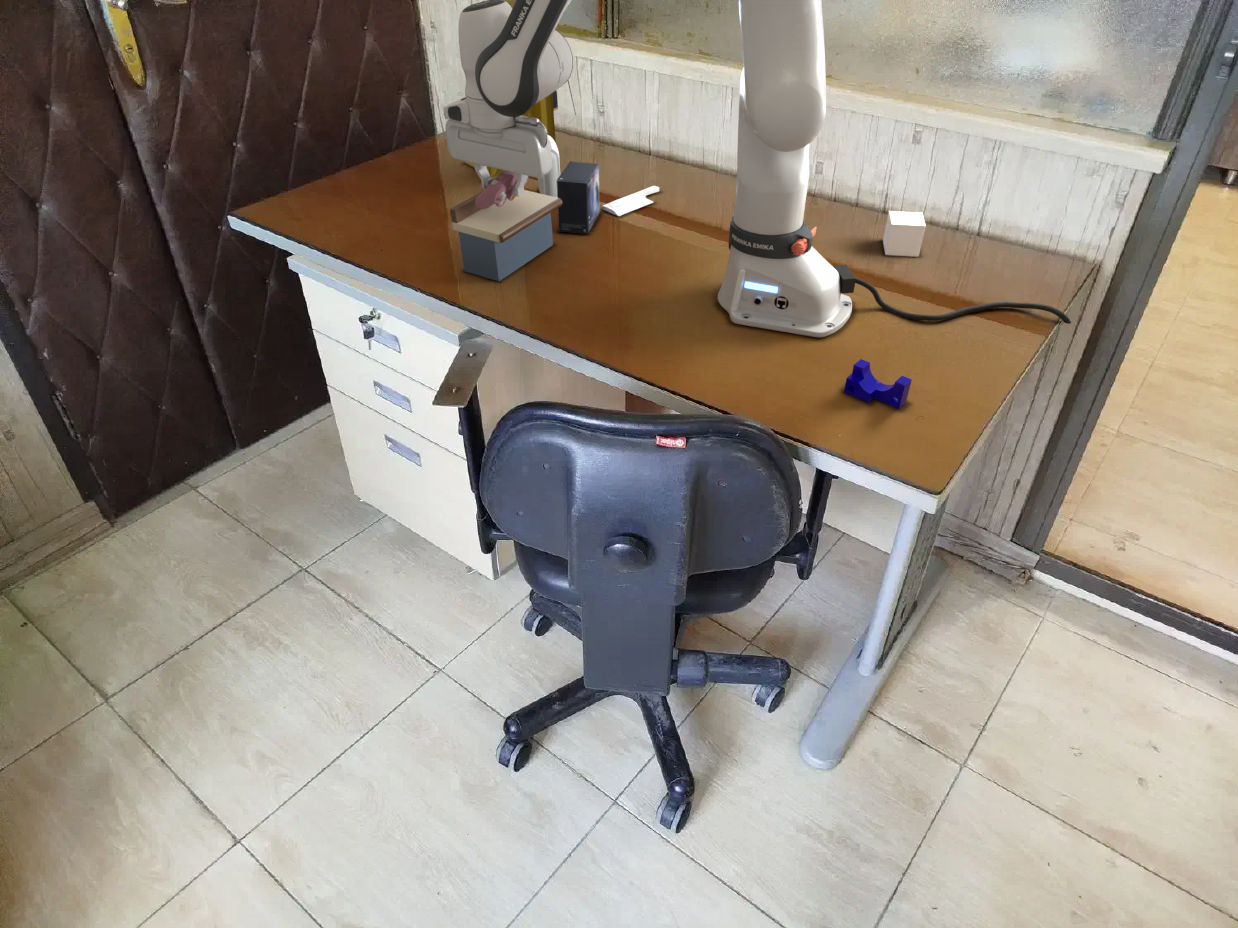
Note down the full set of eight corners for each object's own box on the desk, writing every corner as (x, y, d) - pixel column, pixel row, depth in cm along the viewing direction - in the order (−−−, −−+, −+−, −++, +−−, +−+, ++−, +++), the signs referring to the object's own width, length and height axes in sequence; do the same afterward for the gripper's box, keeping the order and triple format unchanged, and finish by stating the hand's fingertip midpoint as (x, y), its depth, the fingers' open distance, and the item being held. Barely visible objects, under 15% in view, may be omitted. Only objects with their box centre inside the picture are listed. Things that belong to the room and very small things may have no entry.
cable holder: (843, 392, 120) (848, 369, 118) (856, 381, 122) (860, 358, 120) (894, 413, 116) (899, 390, 114) (905, 402, 118) (911, 379, 116)
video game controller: (490, 222, 145) (501, 190, 140) (471, 206, 145) (480, 174, 140) (524, 202, 151) (535, 171, 146) (506, 187, 152) (516, 156, 146)
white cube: (915, 242, 157) (922, 212, 153) (918, 257, 153) (926, 226, 149) (882, 241, 158) (888, 210, 154) (885, 255, 154) (891, 224, 150)
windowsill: (565, 246, 158) (561, 186, 151) (508, 286, 147) (501, 222, 139) (518, 234, 163) (512, 174, 155) (459, 271, 151) (449, 209, 143)
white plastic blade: (670, 196, 176) (670, 191, 175) (618, 217, 168) (618, 212, 168) (653, 189, 179) (653, 184, 178) (601, 209, 171) (601, 204, 170)
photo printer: (536, 188, 180) (531, 130, 172) (556, 186, 181) (552, 128, 173) (543, 207, 173) (539, 147, 165) (564, 205, 173) (560, 145, 165)
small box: (590, 235, 162) (588, 182, 155) (557, 232, 163) (554, 180, 156) (601, 213, 170) (600, 162, 163) (571, 211, 171) (568, 160, 164)
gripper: (556, 114, 135) (561, 197, 144) (459, 96, 143) (470, 175, 152) (534, 126, 131) (540, 210, 140) (435, 107, 139) (447, 187, 148)
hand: (503, 192), depth 146 cm, fingers closed on video game controller, 5 cm apart
